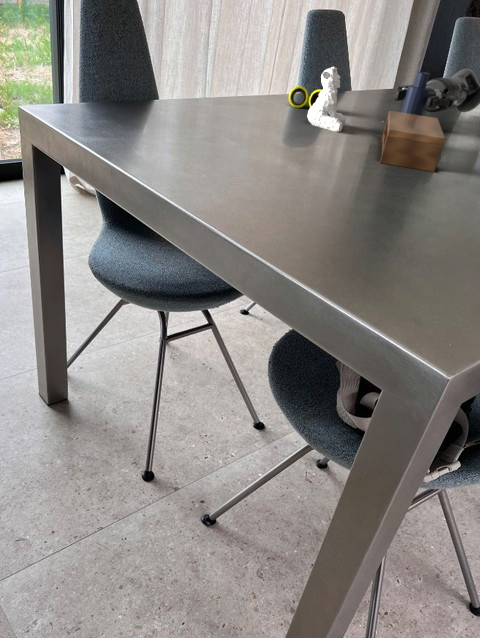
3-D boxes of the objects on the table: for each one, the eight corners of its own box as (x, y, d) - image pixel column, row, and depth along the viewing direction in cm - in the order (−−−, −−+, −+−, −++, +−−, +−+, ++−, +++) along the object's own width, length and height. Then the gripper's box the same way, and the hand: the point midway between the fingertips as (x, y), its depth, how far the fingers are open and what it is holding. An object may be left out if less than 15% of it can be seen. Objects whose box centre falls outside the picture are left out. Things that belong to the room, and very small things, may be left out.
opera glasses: (326, 113, 145) (331, 92, 143) (324, 112, 141) (329, 90, 139) (290, 107, 148) (294, 86, 146) (286, 106, 143) (291, 84, 141)
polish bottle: (417, 127, 138) (433, 73, 131) (418, 131, 134) (435, 75, 127) (396, 124, 139) (412, 70, 132) (397, 128, 135) (413, 72, 128)
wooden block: (428, 147, 122) (437, 118, 118) (433, 172, 106) (445, 138, 102) (381, 140, 123) (389, 110, 120) (379, 162, 107) (389, 129, 104)
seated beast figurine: (340, 133, 125) (354, 72, 118) (302, 126, 126) (313, 66, 119) (344, 125, 132) (358, 67, 125) (308, 119, 134) (319, 62, 127)
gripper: (462, 116, 140) (435, 123, 130) (409, 104, 148) (380, 109, 137) (474, 83, 136) (447, 87, 125) (419, 72, 143) (389, 75, 133)
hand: (412, 99), depth 131 cm, fingers open, 7 cm apart
